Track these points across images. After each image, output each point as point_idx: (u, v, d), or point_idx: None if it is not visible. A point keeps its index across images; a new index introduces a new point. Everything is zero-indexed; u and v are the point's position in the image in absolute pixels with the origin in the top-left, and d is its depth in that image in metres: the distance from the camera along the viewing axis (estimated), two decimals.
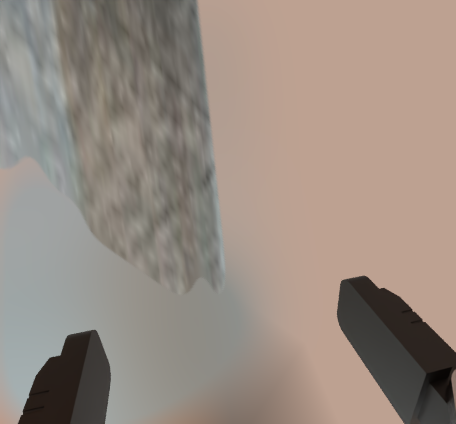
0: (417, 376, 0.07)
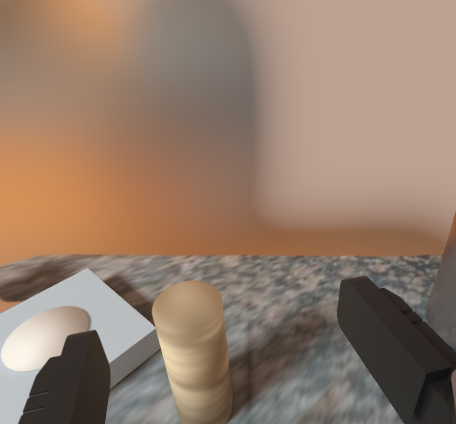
0: (417, 376, 0.07)
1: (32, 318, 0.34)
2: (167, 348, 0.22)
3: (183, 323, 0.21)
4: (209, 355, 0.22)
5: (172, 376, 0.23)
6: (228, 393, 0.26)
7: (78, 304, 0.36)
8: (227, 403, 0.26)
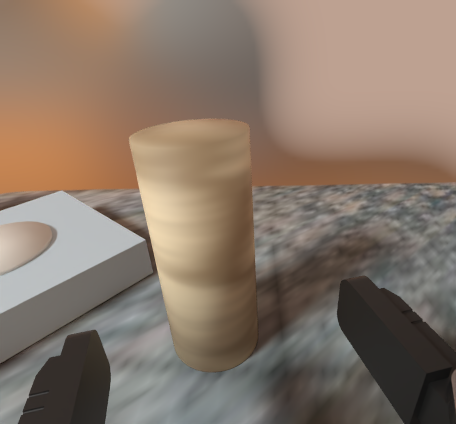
0: (417, 376, 0.07)
1: None
2: (155, 197, 0.12)
3: (182, 142, 0.12)
4: (227, 213, 0.13)
5: (164, 262, 0.14)
6: (253, 307, 0.16)
7: (43, 220, 0.27)
8: (251, 323, 0.16)
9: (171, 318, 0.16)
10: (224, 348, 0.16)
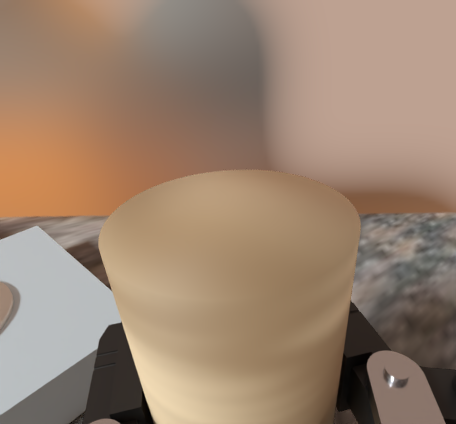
0: None
1: None
2: (155, 372, 0.06)
3: (222, 267, 0.05)
4: (313, 399, 0.06)
5: None
6: None
7: (6, 276, 0.20)
8: None
9: None
10: None
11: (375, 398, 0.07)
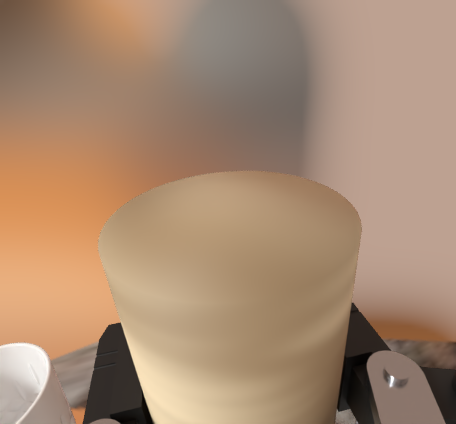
0: None
1: None
2: (155, 376, 0.05)
3: (222, 270, 0.05)
4: (314, 402, 0.06)
5: None
6: None
7: None
8: None
9: None
10: None
11: (375, 398, 0.07)
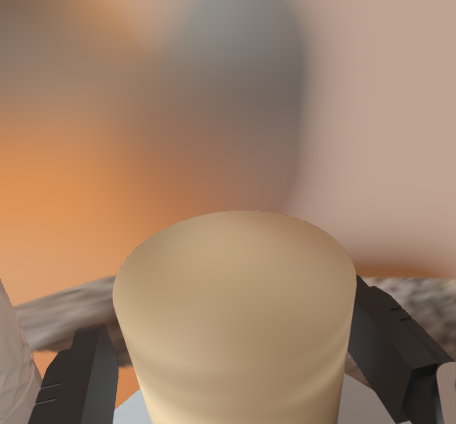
0: (404, 372, 0.08)
1: None
2: (167, 420, 0.06)
3: (228, 330, 0.05)
4: None
5: None
6: None
7: None
8: None
9: None
10: None
11: (453, 414, 0.06)
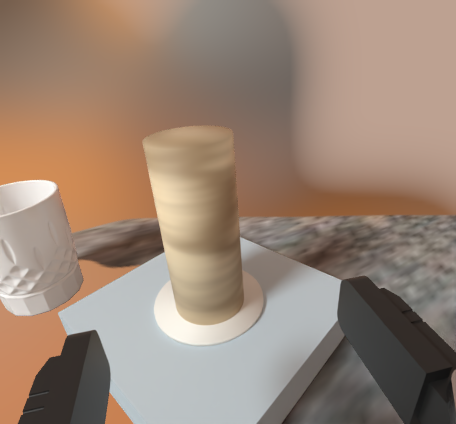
0: (417, 376, 0.07)
1: None
2: (162, 185, 0.17)
3: (182, 145, 0.16)
4: (216, 197, 0.17)
5: (168, 235, 0.18)
6: (238, 273, 0.21)
7: None
8: (237, 287, 0.21)
9: (174, 282, 0.20)
10: (215, 305, 0.20)
11: None
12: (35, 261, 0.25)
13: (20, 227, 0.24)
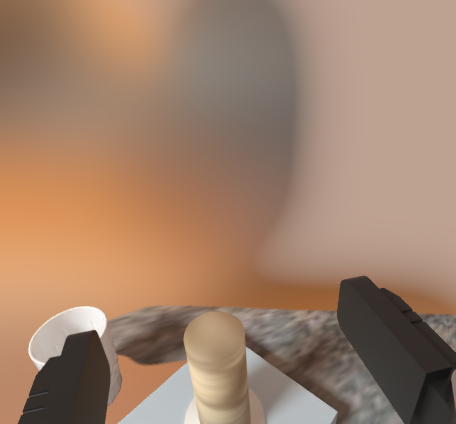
0: (417, 376, 0.07)
1: None
2: (197, 373, 0.25)
3: (212, 352, 0.24)
4: (233, 379, 0.25)
5: (199, 396, 0.27)
6: (247, 411, 0.29)
7: None
8: (246, 420, 0.29)
9: (201, 418, 0.29)
10: None
11: None
12: None
13: None
